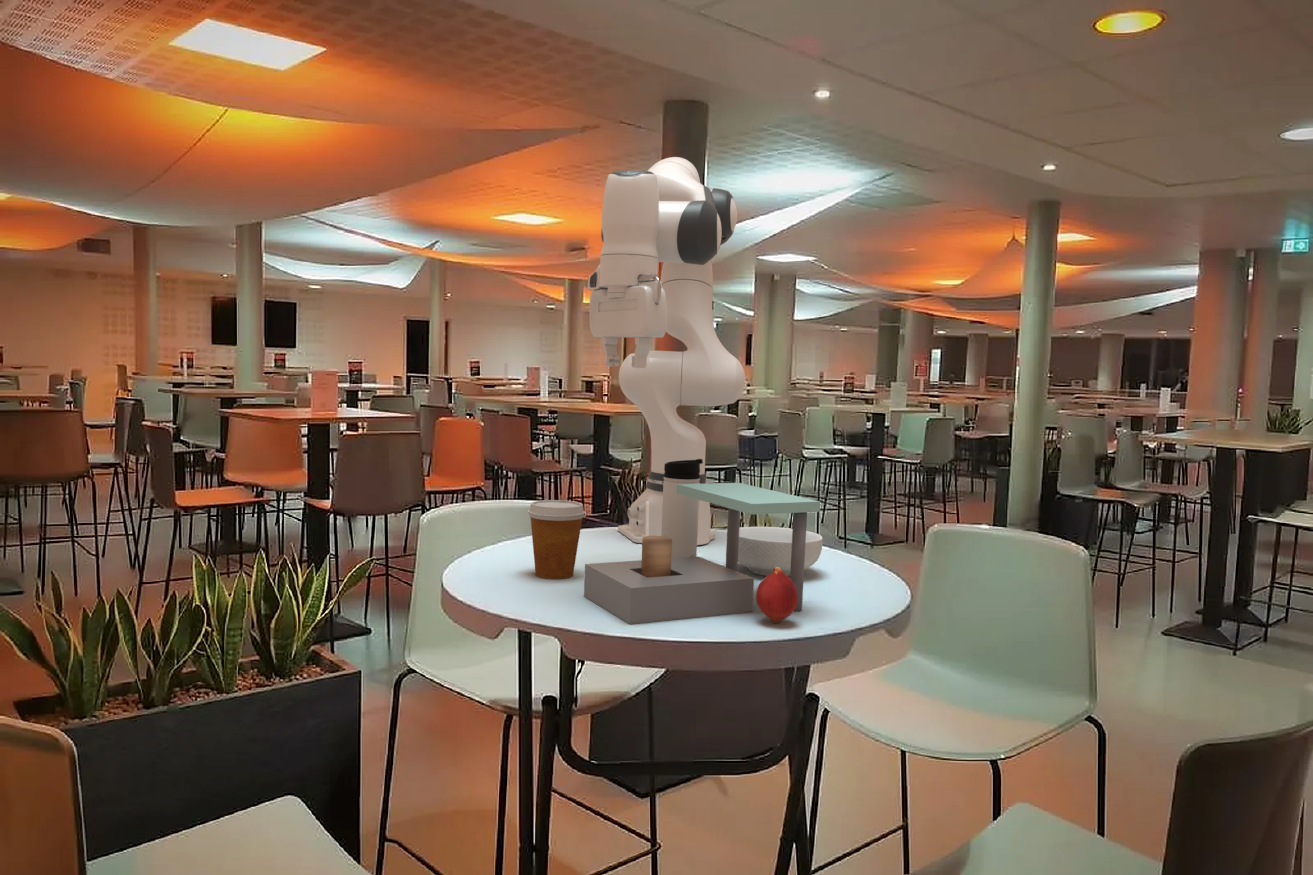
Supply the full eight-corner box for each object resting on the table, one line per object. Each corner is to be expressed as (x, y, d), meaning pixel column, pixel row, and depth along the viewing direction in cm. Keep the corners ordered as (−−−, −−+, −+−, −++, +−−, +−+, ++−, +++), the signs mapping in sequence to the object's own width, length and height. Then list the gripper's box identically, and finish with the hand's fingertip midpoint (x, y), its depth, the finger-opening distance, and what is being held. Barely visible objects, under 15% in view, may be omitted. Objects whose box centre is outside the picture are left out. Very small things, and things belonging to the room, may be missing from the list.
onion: (774, 615, 131) (776, 560, 130) (805, 624, 126) (808, 568, 126) (746, 621, 127) (749, 565, 126) (777, 630, 123) (780, 572, 122)
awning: (672, 584, 147) (676, 484, 146) (734, 579, 153) (739, 482, 152) (746, 618, 128) (752, 503, 127) (814, 611, 134) (820, 501, 132)
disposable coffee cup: (527, 581, 145) (529, 507, 144) (524, 568, 154) (526, 499, 154) (586, 581, 147) (588, 508, 146) (579, 568, 156) (582, 500, 155)
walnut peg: (634, 602, 135) (637, 536, 134) (660, 600, 137) (663, 535, 136) (648, 610, 131) (650, 542, 130) (674, 607, 133) (677, 540, 132)
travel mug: (694, 578, 152) (699, 460, 151) (656, 575, 154) (661, 458, 152) (700, 571, 158) (705, 457, 157) (663, 567, 160) (668, 455, 158)
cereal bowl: (840, 576, 159) (842, 536, 159) (776, 587, 148) (778, 545, 148) (769, 558, 172) (771, 522, 172) (706, 567, 161) (708, 528, 161)
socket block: (583, 596, 137) (585, 564, 137) (697, 586, 146) (698, 556, 146) (629, 624, 123) (631, 588, 122) (752, 611, 132) (753, 578, 132)
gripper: (679, 274, 130) (675, 370, 131) (618, 281, 148) (615, 366, 149) (640, 270, 127) (636, 368, 128) (583, 279, 145) (580, 364, 146)
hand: (625, 367), depth 139 cm, fingers open, 8 cm apart
